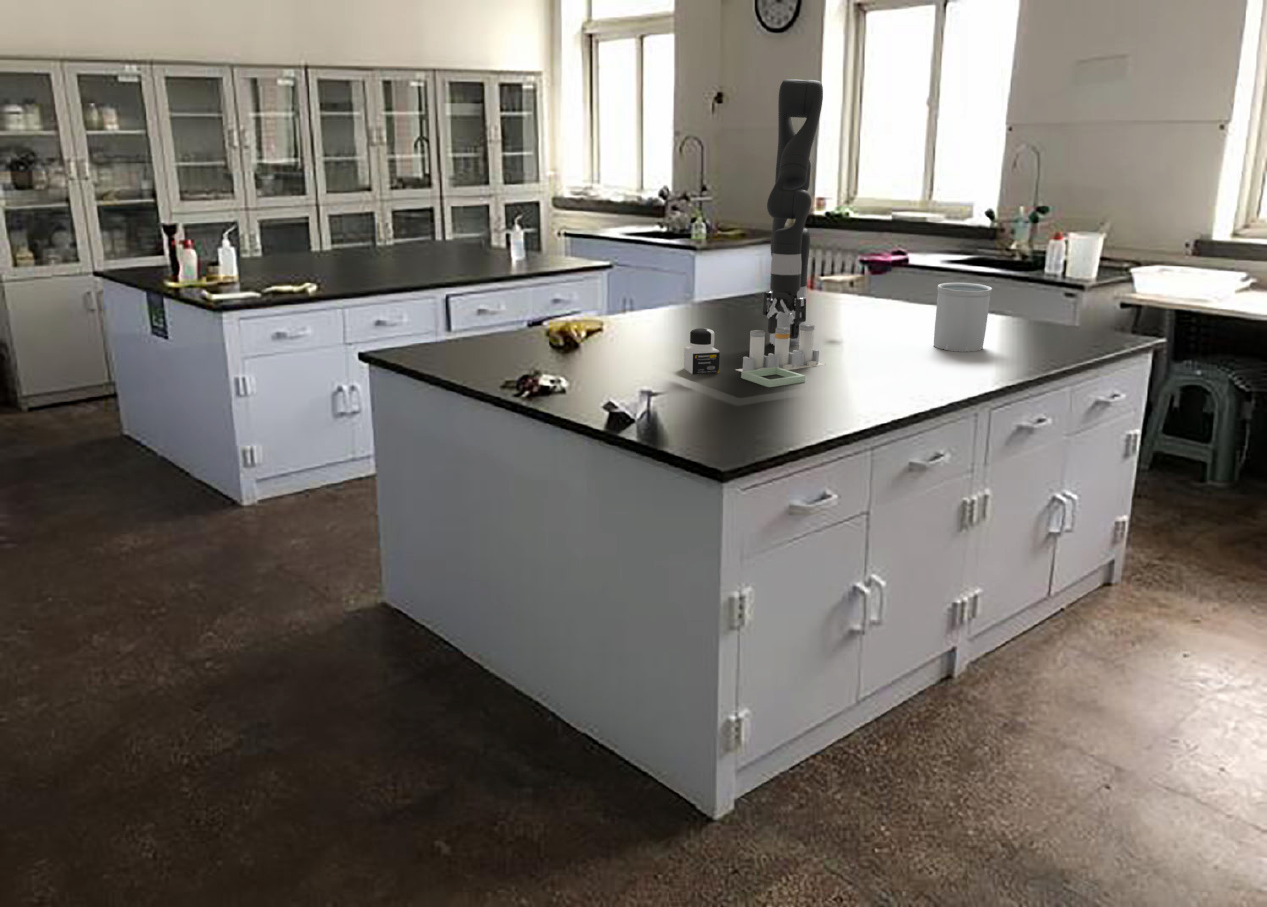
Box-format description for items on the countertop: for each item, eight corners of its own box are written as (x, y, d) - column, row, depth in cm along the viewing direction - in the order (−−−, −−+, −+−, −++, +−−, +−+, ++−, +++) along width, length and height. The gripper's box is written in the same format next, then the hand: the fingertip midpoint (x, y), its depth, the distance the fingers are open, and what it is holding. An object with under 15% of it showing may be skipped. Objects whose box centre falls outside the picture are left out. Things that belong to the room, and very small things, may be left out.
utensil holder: (996, 350, 295) (1003, 289, 290) (951, 354, 291) (957, 291, 286) (965, 340, 309) (971, 281, 303) (921, 343, 304) (927, 283, 299)
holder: (734, 375, 265) (735, 356, 263) (808, 364, 277) (809, 346, 275) (751, 380, 259) (752, 361, 258) (825, 370, 271) (826, 351, 269)
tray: (741, 383, 256) (741, 371, 256) (776, 378, 262) (776, 366, 261) (768, 393, 247) (769, 380, 247) (804, 387, 253) (805, 375, 252)
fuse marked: (770, 366, 268) (772, 328, 265) (782, 364, 270) (784, 326, 267) (779, 369, 265) (781, 330, 262) (791, 367, 267) (793, 329, 264)
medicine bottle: (692, 380, 260) (693, 332, 256) (683, 374, 266) (684, 327, 263) (719, 378, 262) (720, 331, 258) (709, 372, 268) (711, 326, 264)
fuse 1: (745, 369, 264) (747, 330, 261) (757, 368, 266) (759, 329, 263) (754, 372, 261) (756, 333, 258) (766, 371, 263) (768, 332, 260)
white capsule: (795, 363, 272) (797, 325, 269) (806, 361, 274) (808, 323, 271) (804, 365, 269) (806, 327, 266) (815, 364, 271) (817, 326, 268)
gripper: (816, 274, 256) (812, 339, 261) (779, 267, 268) (776, 330, 273) (792, 275, 252) (789, 341, 257) (756, 269, 264) (754, 332, 269)
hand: (782, 335), depth 265 cm, fingers open, 8 cm apart
